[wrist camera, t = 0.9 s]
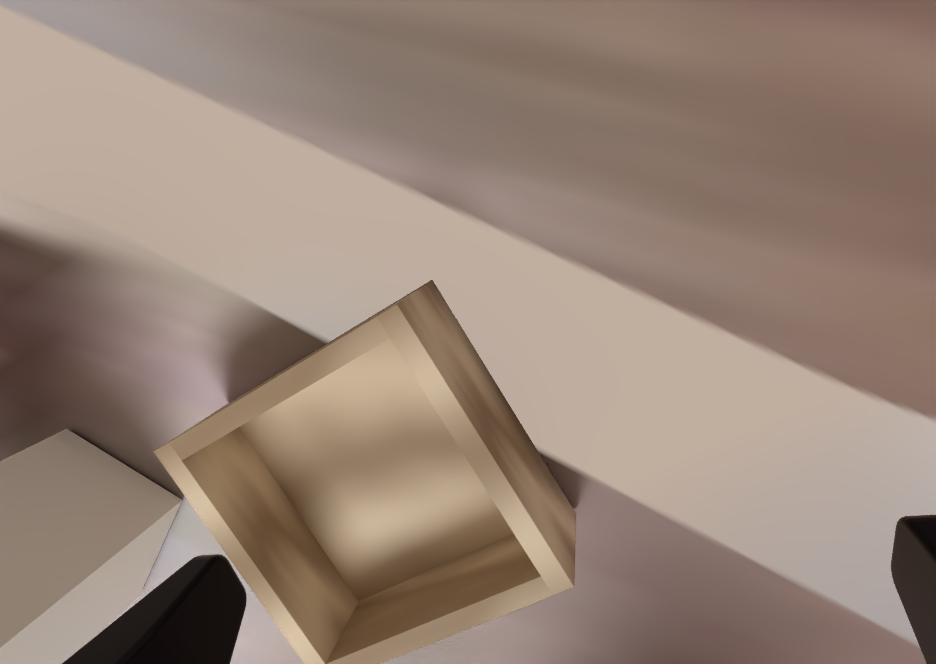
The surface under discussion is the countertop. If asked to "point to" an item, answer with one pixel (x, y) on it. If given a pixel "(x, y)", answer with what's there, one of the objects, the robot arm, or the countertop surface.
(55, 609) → the grey tote
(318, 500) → the beech crate
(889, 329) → the countertop surface
